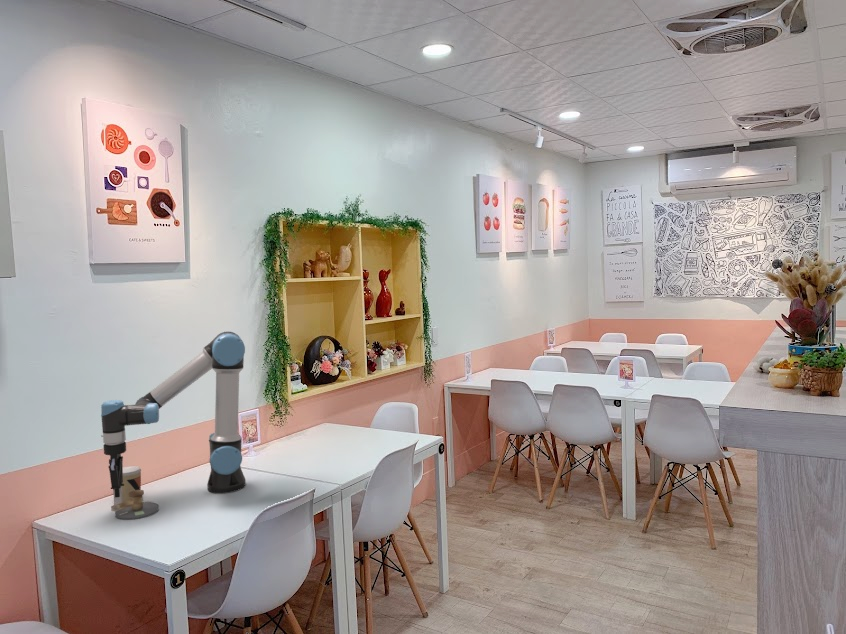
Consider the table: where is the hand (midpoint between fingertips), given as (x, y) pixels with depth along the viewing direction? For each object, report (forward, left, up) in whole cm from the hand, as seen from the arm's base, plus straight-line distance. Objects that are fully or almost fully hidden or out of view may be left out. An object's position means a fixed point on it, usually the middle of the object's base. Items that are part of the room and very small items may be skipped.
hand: (118, 504), depth 242 cm
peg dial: (-5, +3, -2) cm, 6 cm away
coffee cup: (+3, -14, -3) cm, 15 cm away
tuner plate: (-7, 0, -3) cm, 8 cm away
